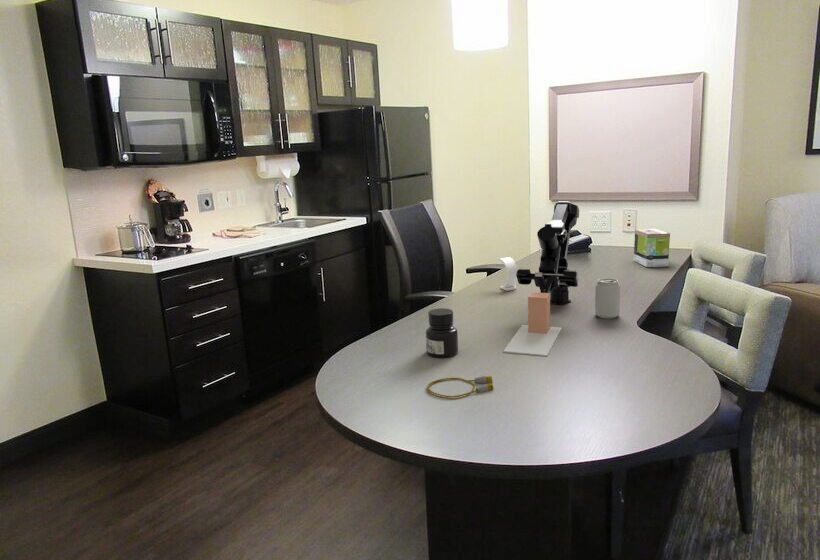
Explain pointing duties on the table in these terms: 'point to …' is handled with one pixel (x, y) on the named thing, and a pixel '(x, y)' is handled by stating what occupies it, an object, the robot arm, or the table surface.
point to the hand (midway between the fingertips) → (543, 300)
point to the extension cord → (477, 380)
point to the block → (539, 312)
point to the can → (607, 298)
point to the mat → (532, 342)
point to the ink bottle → (441, 334)
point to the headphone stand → (509, 273)
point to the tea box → (651, 247)
